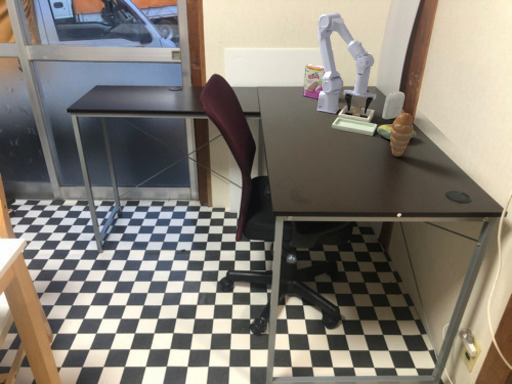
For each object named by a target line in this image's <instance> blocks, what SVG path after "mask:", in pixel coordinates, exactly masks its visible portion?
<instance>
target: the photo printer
mask: <svg viewBox="0 0 512 384" xmlns="http://www.w3.org/2000/svg"><path fill="white" fill-rule="evenodd" d="M405 98H406V96H405V93H404V92H402V91H393V92H390V93H388V94H387V95H386V96H385V100H384V106H383V111H382V115H381V118H382V119H384V120H392V119H396V118H397V117H398V116H399V115H400V114H401V112H402V110H403V107H404V102H405Z"/></svg>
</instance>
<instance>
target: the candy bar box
mask: <svg viewBox="0 0 512 384" xmlns="http://www.w3.org/2000/svg"><path fill="white" fill-rule="evenodd" d="M324 74H325V72H324V67H323V65H317V64H313V63H308V64H306V65H305V69H304V78H303V88H302V97H306V98H311V99H315V100H318V98H319V94H320V92H321V91H323V89H322V84H323V81H322V78H323V76H324Z"/></svg>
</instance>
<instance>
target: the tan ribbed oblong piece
mask: <svg viewBox="0 0 512 384" xmlns="http://www.w3.org/2000/svg"><path fill="white" fill-rule="evenodd" d="M413 120H414V118H413V116H412V115H411V113H408V112H405V109H402V112H401V114H400V115H399V116H398V117H396V118H394V120H393V123H392V129H391V136H390V139H389V140H390V143H389V145H390V147H391V153H392V155H393V156H394V157H397V158H398V157H401V156H402V155H403V154H404V152H405V150H406V149H407V147H408V145H409V143H410V140H411V139H412V138H411V136H412V131H413V130H414V125H413V123H414V122H413Z"/></svg>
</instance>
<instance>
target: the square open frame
mask: <svg viewBox="0 0 512 384" xmlns="http://www.w3.org/2000/svg"><path fill="white" fill-rule="evenodd" d="M353 107H354V106H351V107H350V110H349V111H348V107H347V105H344V106H343V108H342V109H341V111H339V113H338V115H337V117H338V118H343V119H349V120H355V121H361V122H366V123H371V121H372V119H373V118H374V113H375V109H369V108H368V109H367V112H366V114H364V111H365V107H363V108H362V107H361V113H360V117H356V116H352V115H350V114H352V113H353ZM346 113H349V115H348V114H346ZM361 116H366V117H367V118H366V117H361Z"/></svg>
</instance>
